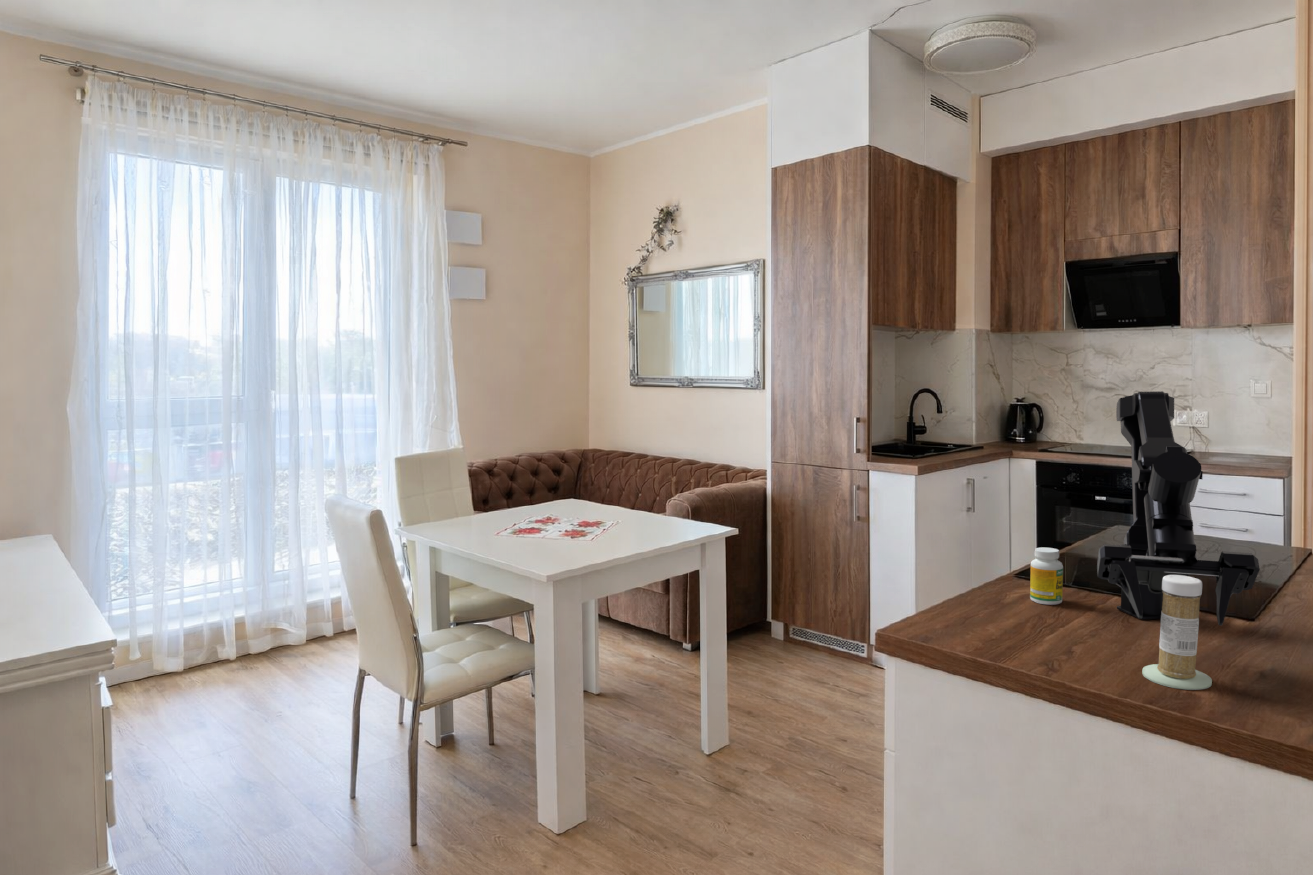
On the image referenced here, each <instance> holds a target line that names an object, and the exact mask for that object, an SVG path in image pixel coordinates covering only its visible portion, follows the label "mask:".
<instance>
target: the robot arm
mask: <svg viewBox="0 0 1313 875" xmlns="http://www.w3.org/2000/svg"><path fill="white" fill-rule="evenodd" d="M1115 410H1116V413H1115V414H1116V416H1115V418H1116V422H1120V434H1121V435H1122V436H1123V437H1124V439H1125V440H1126V441H1127V442H1128V443H1129V445H1130V446H1131V483H1132V484H1131V485H1132V486H1131V487H1132V512H1133V514H1132V516H1133V522H1132V524H1131V525H1130V527H1129V529H1128V530H1127V532H1126V533H1125V536H1124V538H1123V544H1122V543H1121V544H1110V543H1109V544H1108V543H1107V544H1106V543H1103V544H1102V545H1101V546H1100V547H1099V549H1098V553H1097V554H1098V556H1097V560H1096V561H1097V562H1096V563H1097V565H1096V569H1097V572H1096V573H1097V574H1096V575H1097V578H1099V579H1100V580H1105V581H1106V580H1107V582H1108V583H1109V584H1111V585H1112V584H1113V585H1117V586H1118V587H1120V605H1117V606H1116V609H1117V610H1118V611H1121V612H1124V613H1125V614H1128V615H1129V616H1131V617H1132V616H1133V617H1134V618H1137V619H1139V620H1154V619H1155V620H1157V619H1161V611H1162V602H1163V592H1162V591H1163V590H1162V580H1163V577H1164V576H1166V575H1183V576H1189V577H1190V575H1198V576H1199V575H1200V576H1209V577H1210V576H1211V577H1212V576H1213V577H1215V581H1216V587H1215V590H1214V591H1215V594H1216V620H1217V624H1218V626H1223V624H1224V622H1225V618H1226V613H1227V610H1228V606H1229V604H1230V600H1231V597H1232V595H1233V594H1241V593H1242V592H1243V591H1249V590H1252V589H1253V587H1254V584H1255V582H1256V580H1257V578H1258V575H1259V572H1260V569H1261V568H1260V564H1259V559H1258V558H1257V557H1256V555H1254V554H1253V553H1252V552H1241V551H1240V552H1239V551H1221V552H1220V555H1219V558H1218V560H1201V559H1198V555H1197V544H1196V541H1195V534H1194V533H1195V532H1194V522H1193V518H1192V510H1191V503H1192V501H1193V500H1194V498H1195V495H1196V492H1197V488H1198V486H1199V481H1200V480H1203V475H1204V474H1203V473H1204V472H1203V470H1202V464H1201V463H1200V462H1199V460H1198V459H1197V458H1196V457H1194V456H1193V455H1192V454H1189V453H1188V452H1187V448H1185V446H1183V445H1181V444H1179V443H1178V442H1176V440H1175V437H1174V433H1173V432H1174V431H1173V427H1172V423H1171V422H1172V421H1173V420H1174V419H1175V397H1173V396H1170V394H1169V393H1168V392H1164V391H1163V390H1162V391H1161V390H1160V391H1156V390H1155V391H1138V392H1134V393H1133V394H1131V395H1125V396H1123V397H1120V398H1119V399H1118V400H1117V403H1116V409H1115Z"/></svg>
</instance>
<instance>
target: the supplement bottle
mask: <svg viewBox="0 0 1313 875" xmlns="http://www.w3.org/2000/svg"><path fill="white" fill-rule="evenodd" d="M1034 549H1035V550H1034V559H1032V560H1031V562H1030V576H1029V577H1030V581H1029V582H1030V584H1029V586H1030V588H1029V589H1030V591H1029V598H1030V601H1032V602H1035V603H1037V604H1040V605H1047V606H1048V605H1051V606H1053V605H1054V606H1055V605H1059V604H1062V602H1063V593H1064V592H1063V590H1064V588H1063V582H1064V566H1063V562H1061V561H1060V560H1058V559H1059V558H1060V549H1058V548H1053V547H1042V546H1041V547H1036V548H1034Z"/></svg>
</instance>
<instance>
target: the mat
mask: <svg viewBox="0 0 1313 875" xmlns="http://www.w3.org/2000/svg"><path fill="white" fill-rule="evenodd" d="M1158 665H1159V663H1157V664H1156V663H1155V664H1148V665H1145V666H1143V668H1142V672H1141V673H1142V676H1143V677H1144V678H1145V679H1147V680H1149V681H1150V682H1152V683H1154V684H1158V685H1160V686H1164V687H1167V688H1168V687H1169V688H1172V689H1178V690H1186V691H1187V690H1188V691H1200V690H1206V689H1209V688H1210V687H1211V686H1213V685H1212V684H1213V683H1212V682H1213V679H1212V677H1211V676H1209V675H1208V674H1206V673H1205V672H1203V671H1200V670H1197V669H1195V671H1196V676H1195V677H1194V678H1190V679H1180V678H1175V677H1170V676H1168V675H1165V674H1163V673H1161V672H1160V671H1159V670H1158V669H1157V666H1158Z"/></svg>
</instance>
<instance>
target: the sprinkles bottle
mask: <svg viewBox="0 0 1313 875" xmlns="http://www.w3.org/2000/svg"><path fill="white" fill-rule="evenodd" d="M1162 590H1163V591H1162V592H1163V602H1162V611H1161V618H1160V628H1159V641H1158V642H1159V645H1158V647H1159V649H1158V650H1159V651H1158V652H1159V653H1158V664H1159V665H1158V666H1157V669H1158V670H1159V671H1160V672H1161V673H1163V674H1165V675H1168V676H1170V677H1175V678H1180V679H1190V678H1194V677H1195V676H1196V671H1195V670H1196V665H1197V664H1196V663H1197V653H1198V652H1197V651H1198V640H1199V639H1198V638H1199V627H1200V604H1201V603H1200V601H1201V600H1200V599H1201V598H1202V595H1203V594H1202V593H1203V581H1202V580H1201V579H1199V578H1195V577H1194V576H1190V575H1189V576H1183V575H1166V576H1164V577H1163V580H1162Z"/></svg>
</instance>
